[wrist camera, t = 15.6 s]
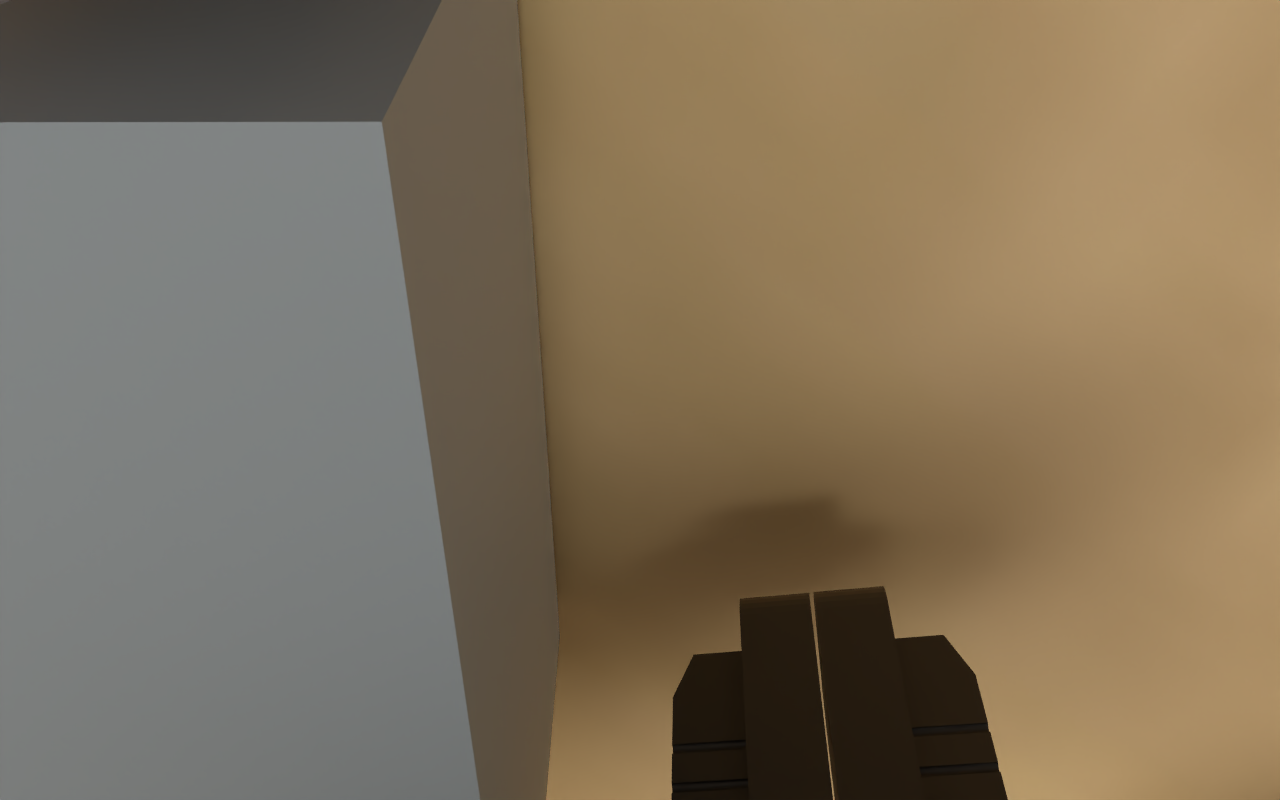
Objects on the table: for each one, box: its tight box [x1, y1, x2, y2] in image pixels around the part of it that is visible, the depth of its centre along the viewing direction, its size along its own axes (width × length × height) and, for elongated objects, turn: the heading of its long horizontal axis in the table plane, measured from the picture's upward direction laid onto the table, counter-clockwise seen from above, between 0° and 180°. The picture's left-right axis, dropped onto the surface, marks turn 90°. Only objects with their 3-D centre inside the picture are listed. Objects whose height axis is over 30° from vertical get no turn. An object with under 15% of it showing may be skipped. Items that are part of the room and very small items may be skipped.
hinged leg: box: [0, 0, 560, 800], centre depth 8 cm, size 13×4×6 cm, turn 0°
